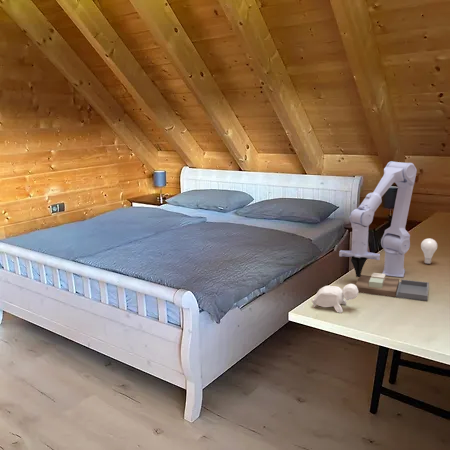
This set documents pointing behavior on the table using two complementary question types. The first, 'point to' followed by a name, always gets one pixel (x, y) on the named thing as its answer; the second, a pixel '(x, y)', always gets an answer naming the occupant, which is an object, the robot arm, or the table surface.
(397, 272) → the robot arm
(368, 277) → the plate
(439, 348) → the table surface
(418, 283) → the box
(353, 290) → the white turtle figurine
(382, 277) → the tile cream
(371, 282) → the tile green
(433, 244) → the lightbulb
